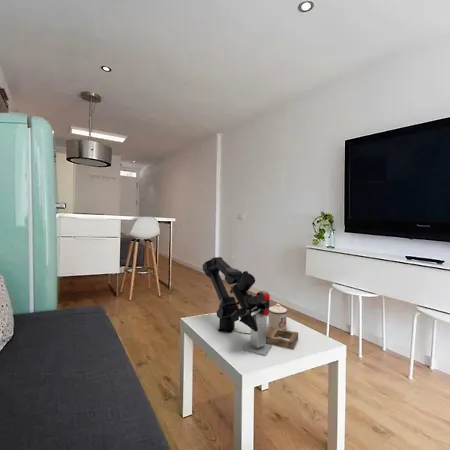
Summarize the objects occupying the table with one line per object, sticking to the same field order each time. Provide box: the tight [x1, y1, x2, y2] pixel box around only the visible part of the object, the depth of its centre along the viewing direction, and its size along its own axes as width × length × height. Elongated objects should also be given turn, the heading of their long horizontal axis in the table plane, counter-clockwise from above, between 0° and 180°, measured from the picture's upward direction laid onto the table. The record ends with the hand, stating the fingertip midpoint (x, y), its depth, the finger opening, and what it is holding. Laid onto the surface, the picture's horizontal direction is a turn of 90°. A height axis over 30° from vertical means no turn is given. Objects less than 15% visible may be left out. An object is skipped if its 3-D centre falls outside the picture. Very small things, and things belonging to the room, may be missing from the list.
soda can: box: [255, 290, 271, 316], centre depth 160 cm, size 8×8×12 cm
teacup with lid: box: [267, 303, 288, 330], centre depth 142 cm, size 12×9×12 cm
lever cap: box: [249, 313, 268, 348], centre depth 118 cm, size 4×5×12 cm
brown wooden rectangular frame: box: [266, 326, 299, 350], centre depth 127 cm, size 14×11×3 cm
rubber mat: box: [243, 342, 273, 357], centre depth 119 cm, size 9×9×1 cm
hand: (261, 329), depth 117 cm, fingers closed on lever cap, 5 cm apart
